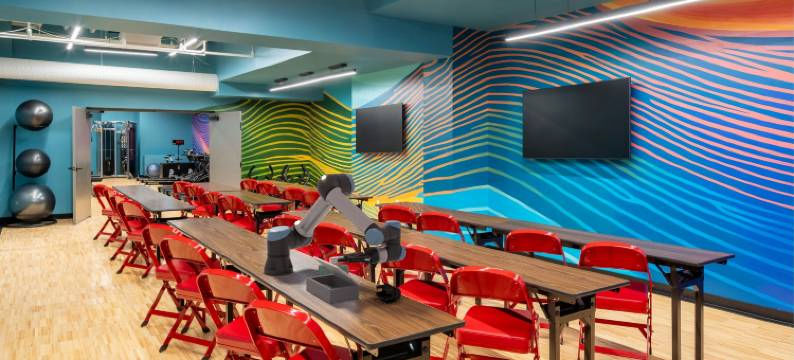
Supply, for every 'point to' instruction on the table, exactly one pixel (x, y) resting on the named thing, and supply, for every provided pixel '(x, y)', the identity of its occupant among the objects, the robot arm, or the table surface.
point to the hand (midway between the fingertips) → (330, 260)
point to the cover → (336, 270)
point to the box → (325, 271)
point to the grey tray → (332, 288)
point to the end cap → (388, 293)
